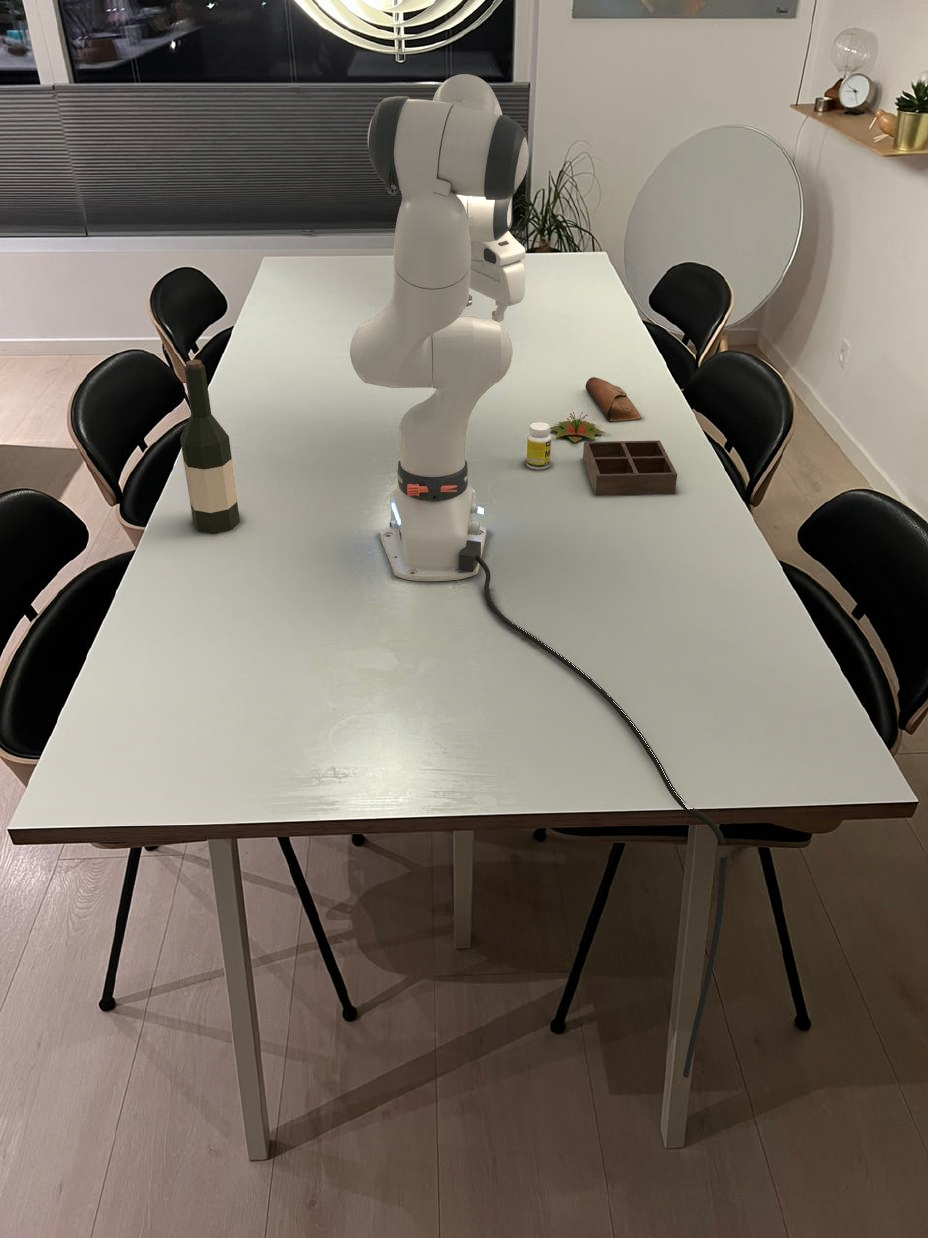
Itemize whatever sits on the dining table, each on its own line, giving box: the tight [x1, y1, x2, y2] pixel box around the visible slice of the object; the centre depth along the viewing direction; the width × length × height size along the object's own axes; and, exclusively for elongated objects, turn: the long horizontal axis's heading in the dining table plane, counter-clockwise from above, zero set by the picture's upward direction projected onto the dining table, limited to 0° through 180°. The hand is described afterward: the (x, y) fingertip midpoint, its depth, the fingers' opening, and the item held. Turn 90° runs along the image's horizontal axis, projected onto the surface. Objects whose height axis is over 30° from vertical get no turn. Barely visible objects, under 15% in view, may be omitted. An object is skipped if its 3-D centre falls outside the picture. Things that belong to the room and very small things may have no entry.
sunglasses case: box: [585, 376, 642, 422], centre depth 235 cm, size 18×7×7 cm, turn 10°
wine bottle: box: [179, 359, 241, 535], centre depth 181 cm, size 8×8×30 cm
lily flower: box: [550, 411, 607, 444], centre depth 221 cm, size 12×12×5 cm
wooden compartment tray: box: [582, 439, 678, 496], centre depth 205 cm, size 15×15×4 cm
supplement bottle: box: [525, 421, 552, 471], centre depth 207 cm, size 5×5×8 cm
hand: (481, 312), depth 201 cm, fingers open, 8 cm apart
